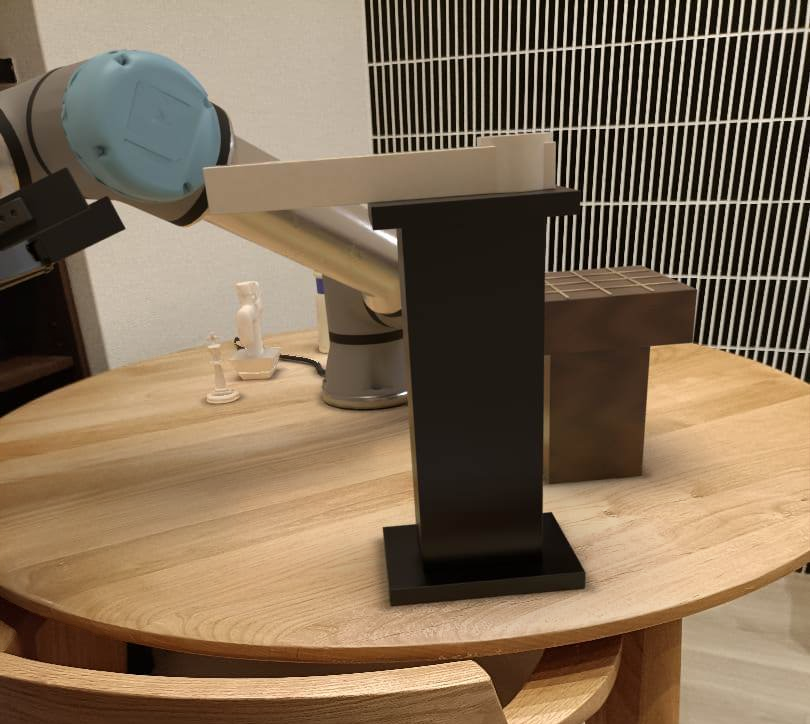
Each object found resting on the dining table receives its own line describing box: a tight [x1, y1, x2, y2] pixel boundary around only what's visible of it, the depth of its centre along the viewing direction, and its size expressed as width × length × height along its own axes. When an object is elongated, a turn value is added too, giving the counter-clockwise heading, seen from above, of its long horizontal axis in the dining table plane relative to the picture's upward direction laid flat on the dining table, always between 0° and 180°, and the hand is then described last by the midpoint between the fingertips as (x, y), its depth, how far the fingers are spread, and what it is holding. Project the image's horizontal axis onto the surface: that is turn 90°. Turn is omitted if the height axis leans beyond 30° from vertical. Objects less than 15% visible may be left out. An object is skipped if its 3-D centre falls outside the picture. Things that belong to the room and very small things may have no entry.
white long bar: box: [203, 131, 557, 215], centre depth 58 cm, size 24×5×4 cm, turn 94°
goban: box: [543, 264, 698, 484], centre depth 87 cm, size 16×16×20 cm
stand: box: [367, 184, 587, 607], centre depth 65 cm, size 16×12×30 cm
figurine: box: [228, 280, 283, 381], centre depth 132 cm, size 7×9×15 cm
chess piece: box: [206, 331, 240, 405], centre depth 122 cm, size 5×5×10 cm
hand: (100, 201), depth 60 cm, fingers open, 13 cm apart
